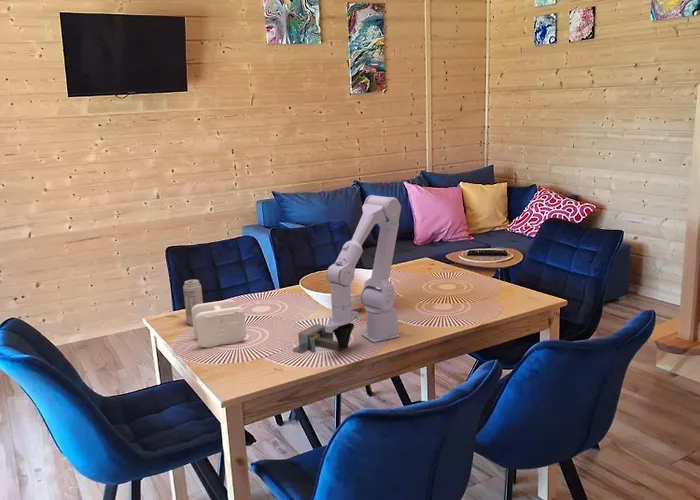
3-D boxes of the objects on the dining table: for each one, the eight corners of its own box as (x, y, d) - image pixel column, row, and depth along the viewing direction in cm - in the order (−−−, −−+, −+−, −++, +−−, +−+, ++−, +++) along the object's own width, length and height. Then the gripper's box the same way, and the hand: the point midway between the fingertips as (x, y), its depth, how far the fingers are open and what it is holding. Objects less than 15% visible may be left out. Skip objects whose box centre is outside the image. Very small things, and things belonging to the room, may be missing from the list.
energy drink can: (208, 322, 224) (204, 280, 221) (194, 327, 220) (189, 285, 216) (197, 319, 228) (193, 278, 225) (183, 324, 224) (178, 282, 220)
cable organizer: (240, 331, 214) (237, 298, 211) (247, 342, 204) (244, 307, 202) (194, 339, 209) (190, 305, 206) (198, 350, 199) (195, 314, 197)
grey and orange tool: (343, 347, 196) (343, 336, 195) (336, 351, 193) (335, 340, 193) (310, 340, 204) (309, 329, 203) (303, 343, 201) (302, 332, 200)
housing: (338, 338, 204) (337, 323, 203) (309, 355, 192) (308, 339, 191) (322, 335, 207) (321, 320, 206) (293, 351, 195) (291, 336, 194)
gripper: (344, 295, 199) (346, 337, 202) (315, 309, 187) (318, 353, 190) (363, 298, 195) (365, 341, 198) (335, 313, 183) (338, 358, 186)
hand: (343, 347), depth 194 cm, fingers closed, pressing on grey and orange tool
